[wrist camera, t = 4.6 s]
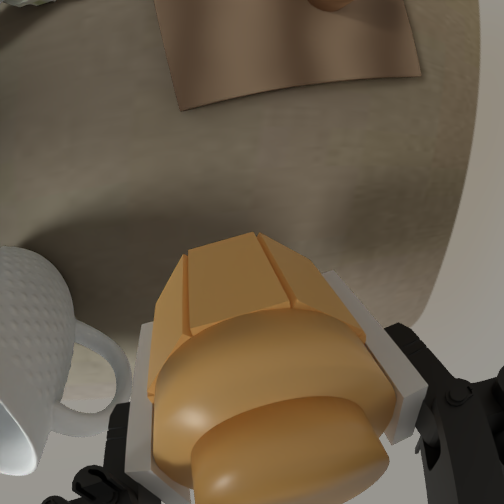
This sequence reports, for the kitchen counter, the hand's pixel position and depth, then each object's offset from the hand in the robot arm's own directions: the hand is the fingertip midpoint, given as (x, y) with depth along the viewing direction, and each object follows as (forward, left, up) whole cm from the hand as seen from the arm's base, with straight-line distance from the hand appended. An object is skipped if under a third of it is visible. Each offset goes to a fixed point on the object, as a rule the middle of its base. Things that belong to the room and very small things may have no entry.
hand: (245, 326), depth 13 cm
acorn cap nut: (0, +1, 0) cm, 1 cm away
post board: (+7, +18, -9) cm, 21 cm away
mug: (-15, 0, -9) cm, 17 cm away
